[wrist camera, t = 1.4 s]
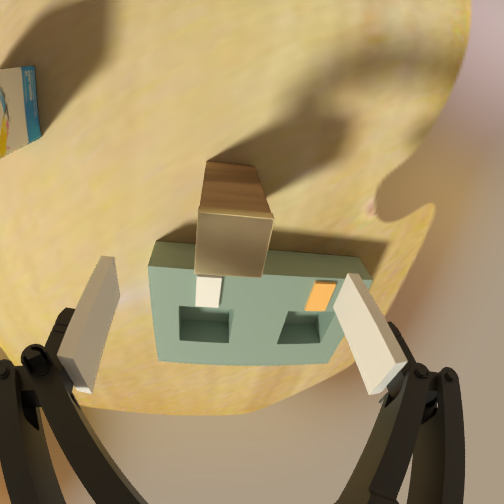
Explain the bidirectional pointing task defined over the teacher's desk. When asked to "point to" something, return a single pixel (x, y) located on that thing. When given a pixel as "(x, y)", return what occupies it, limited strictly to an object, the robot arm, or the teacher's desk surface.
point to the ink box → (18, 109)
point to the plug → (232, 222)
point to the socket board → (248, 308)
